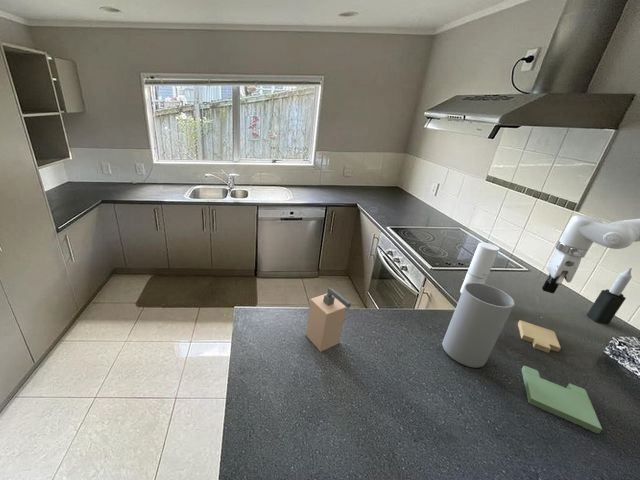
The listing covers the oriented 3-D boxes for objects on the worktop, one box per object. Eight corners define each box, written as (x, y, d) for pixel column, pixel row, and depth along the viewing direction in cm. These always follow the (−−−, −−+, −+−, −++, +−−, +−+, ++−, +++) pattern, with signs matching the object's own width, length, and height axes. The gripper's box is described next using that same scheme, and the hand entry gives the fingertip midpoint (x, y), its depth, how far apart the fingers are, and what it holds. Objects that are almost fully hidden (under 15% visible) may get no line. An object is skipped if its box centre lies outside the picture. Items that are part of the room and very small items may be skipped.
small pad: (551, 335, 106) (554, 331, 106) (560, 357, 97) (563, 353, 96) (517, 323, 112) (519, 319, 111) (522, 343, 102) (524, 339, 101)
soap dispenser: (305, 334, 102) (312, 284, 93) (323, 327, 106) (331, 278, 97) (328, 361, 92) (339, 307, 83) (348, 352, 95) (359, 299, 87)
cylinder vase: (482, 375, 89) (513, 313, 79) (438, 353, 96) (461, 294, 87) (486, 353, 97) (515, 294, 88) (445, 334, 105) (467, 278, 95)
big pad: (582, 393, 84) (585, 389, 83) (598, 434, 74) (602, 429, 73) (521, 369, 91) (523, 365, 91) (528, 403, 81) (531, 398, 80)
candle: (596, 322, 114) (630, 270, 104) (584, 314, 119) (616, 263, 109) (610, 324, 113) (646, 272, 104) (598, 316, 118) (631, 265, 108)
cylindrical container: (482, 299, 126) (503, 250, 116) (466, 298, 126) (486, 249, 116) (471, 289, 132) (490, 242, 123) (456, 289, 132) (474, 241, 123)
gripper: (593, 261, 92) (566, 305, 100) (579, 244, 104) (556, 285, 111) (561, 253, 96) (538, 296, 104) (552, 239, 108) (531, 278, 115)
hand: (547, 291), depth 107 cm, fingers closed
